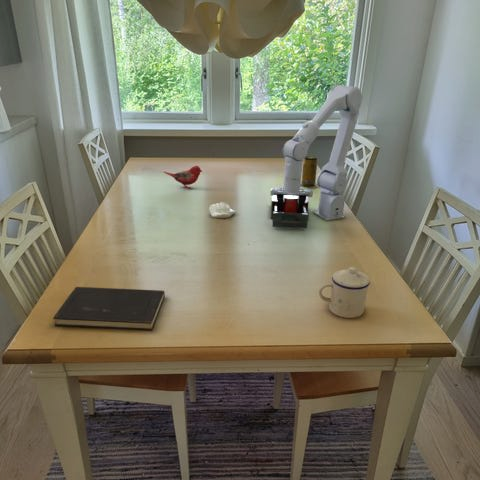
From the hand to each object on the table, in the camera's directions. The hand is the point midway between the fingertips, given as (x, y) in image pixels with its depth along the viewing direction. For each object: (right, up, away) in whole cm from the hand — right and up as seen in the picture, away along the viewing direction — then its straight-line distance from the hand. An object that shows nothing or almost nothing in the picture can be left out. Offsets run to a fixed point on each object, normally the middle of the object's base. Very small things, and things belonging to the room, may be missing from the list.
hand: (289, 215), depth 171 cm
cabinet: (+1, +3, +11) cm, 12 cm away
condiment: (+13, +23, +43) cm, 51 cm away
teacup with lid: (+8, -35, -49) cm, 61 cm away
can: (0, -1, +1) cm, 1 cm away
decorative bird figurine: (-42, +19, +35) cm, 58 cm away
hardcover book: (-49, -35, -52) cm, 80 cm away
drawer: (0, -3, 0) cm, 3 cm away
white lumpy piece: (-24, +2, +9) cm, 26 cm away
